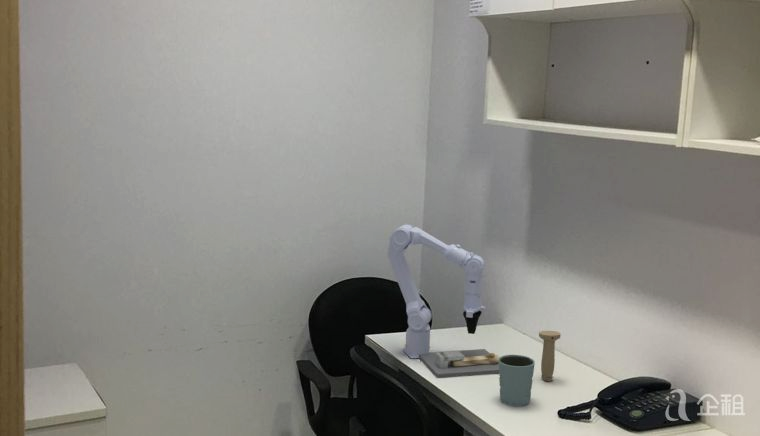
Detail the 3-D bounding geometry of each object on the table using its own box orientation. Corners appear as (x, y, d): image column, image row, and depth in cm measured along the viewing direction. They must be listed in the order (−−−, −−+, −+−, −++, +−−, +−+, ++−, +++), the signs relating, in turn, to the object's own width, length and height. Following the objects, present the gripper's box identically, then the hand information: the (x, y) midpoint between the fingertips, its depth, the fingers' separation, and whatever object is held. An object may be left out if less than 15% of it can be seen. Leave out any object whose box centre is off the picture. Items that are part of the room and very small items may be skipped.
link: (494, 358, 245) (495, 351, 245) (501, 363, 241) (501, 355, 241) (449, 362, 240) (449, 355, 240) (454, 367, 236) (455, 359, 236)
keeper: (458, 361, 242) (458, 351, 242) (464, 367, 237) (464, 356, 237) (435, 363, 240) (435, 352, 240) (440, 368, 235) (440, 357, 235)
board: (417, 356, 250) (417, 353, 250) (484, 352, 256) (484, 348, 256) (437, 377, 231) (437, 374, 230) (509, 372, 237) (509, 369, 237)
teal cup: (539, 403, 213) (542, 362, 211) (513, 410, 208) (515, 368, 206) (515, 391, 222) (517, 352, 220) (489, 397, 216) (491, 357, 214)
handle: (559, 382, 230) (562, 335, 227) (539, 383, 229) (542, 335, 226) (553, 376, 234) (556, 330, 232) (534, 377, 233) (536, 330, 231)
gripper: (482, 299, 236) (480, 340, 238) (488, 288, 250) (486, 328, 252) (460, 297, 238) (458, 338, 240) (467, 286, 251) (465, 326, 253)
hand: (471, 333), depth 246 cm, fingers closed
